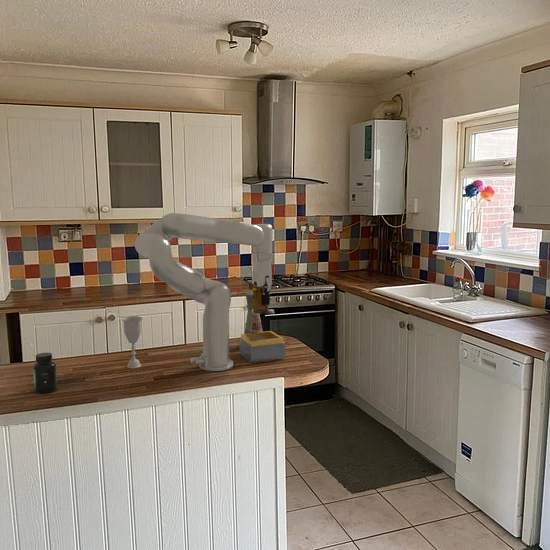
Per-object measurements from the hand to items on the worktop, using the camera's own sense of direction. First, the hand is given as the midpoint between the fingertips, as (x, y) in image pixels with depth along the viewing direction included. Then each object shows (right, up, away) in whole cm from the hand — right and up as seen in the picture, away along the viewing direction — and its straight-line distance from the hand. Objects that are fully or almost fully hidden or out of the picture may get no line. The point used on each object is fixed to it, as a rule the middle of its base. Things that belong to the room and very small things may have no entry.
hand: (262, 302), depth 206 cm
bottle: (-4, -19, +17) cm, 26 cm away
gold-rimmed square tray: (+1, -21, +4) cm, 22 cm away
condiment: (0, -4, 0) cm, 4 cm away
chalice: (-47, -23, -8) cm, 53 cm away
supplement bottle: (-69, -27, -33) cm, 81 cm away
